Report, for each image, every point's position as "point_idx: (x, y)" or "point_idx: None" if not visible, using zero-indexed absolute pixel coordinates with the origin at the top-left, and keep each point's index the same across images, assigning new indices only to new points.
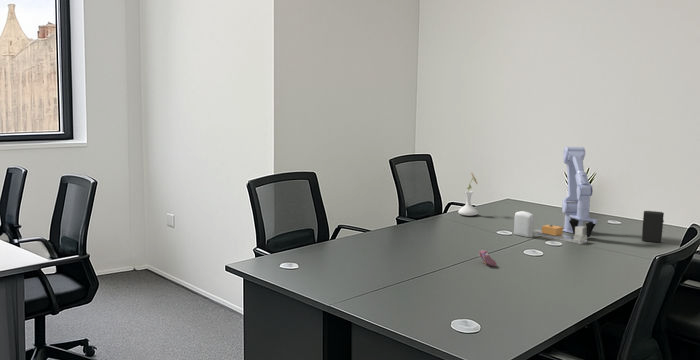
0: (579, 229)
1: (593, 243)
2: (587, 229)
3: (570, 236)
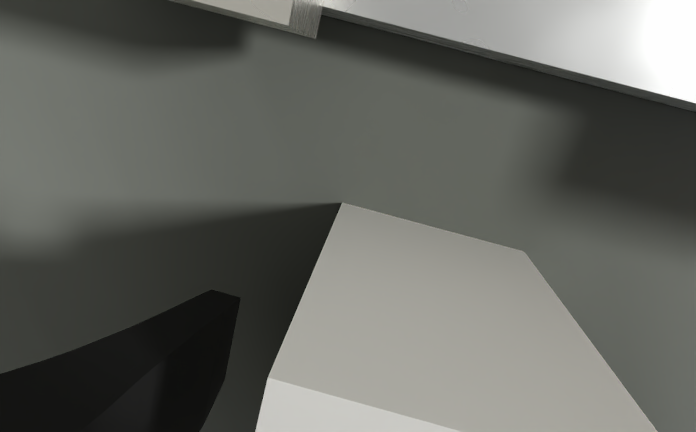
0: (429, 359)
1: (2, 6)
2: (78, 391)
3: (635, 58)
